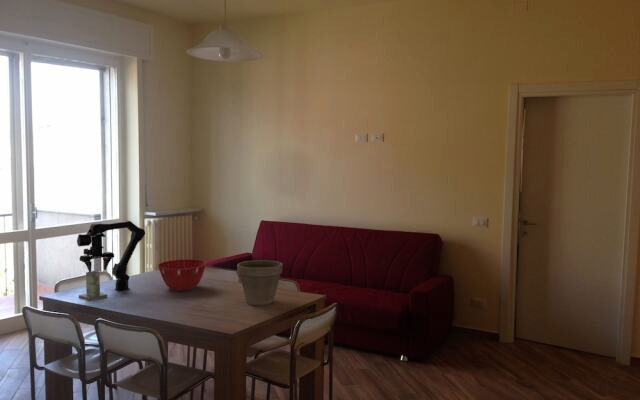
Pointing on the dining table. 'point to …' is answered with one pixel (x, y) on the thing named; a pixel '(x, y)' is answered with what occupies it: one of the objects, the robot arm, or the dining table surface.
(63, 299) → the dining table surface
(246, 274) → the plant pot
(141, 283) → the dining table surface
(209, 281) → the dining table surface
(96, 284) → the green post
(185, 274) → the mixing bowl
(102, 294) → the base board
